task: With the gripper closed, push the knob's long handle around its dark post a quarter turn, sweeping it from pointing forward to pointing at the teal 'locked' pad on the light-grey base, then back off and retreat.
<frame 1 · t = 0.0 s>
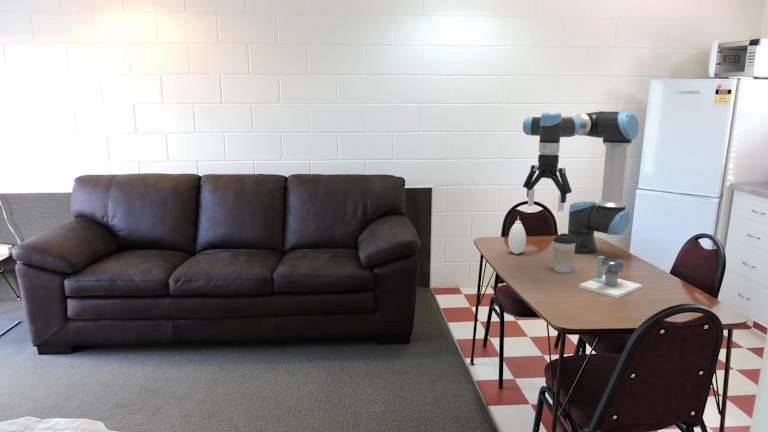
hand: (545, 208, 206), 28 cm above the table, fingers open, 13 cm apart
knob: (610, 265, 197), point 9 cm above the table, hinge at 0.0°
coffee cup: (562, 270, 220), on the table
lock base: (610, 287, 199), on the table
sauce bottle: (516, 253, 245), on the table
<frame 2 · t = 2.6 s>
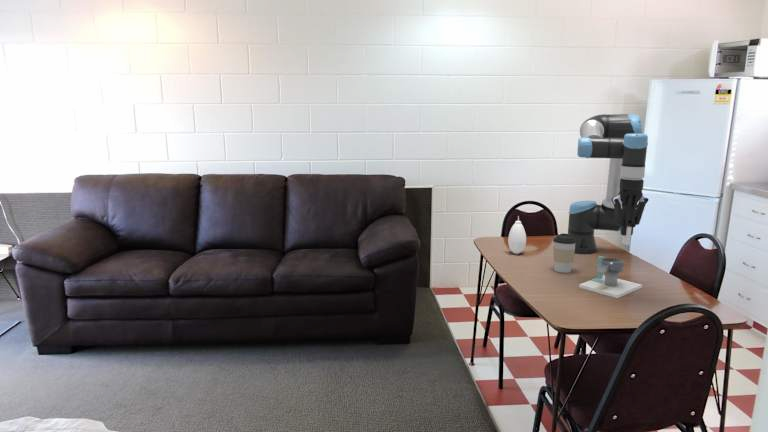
hand: (625, 244, 189), 19 cm above the table, fingers closed
nothing on the table moved.
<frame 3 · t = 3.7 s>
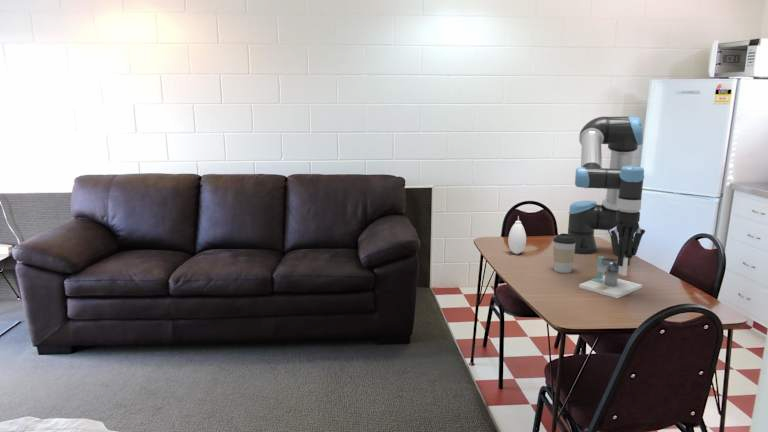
hand: (622, 274, 191), 7 cm above the table, fingers closed
nothing on the table moved.
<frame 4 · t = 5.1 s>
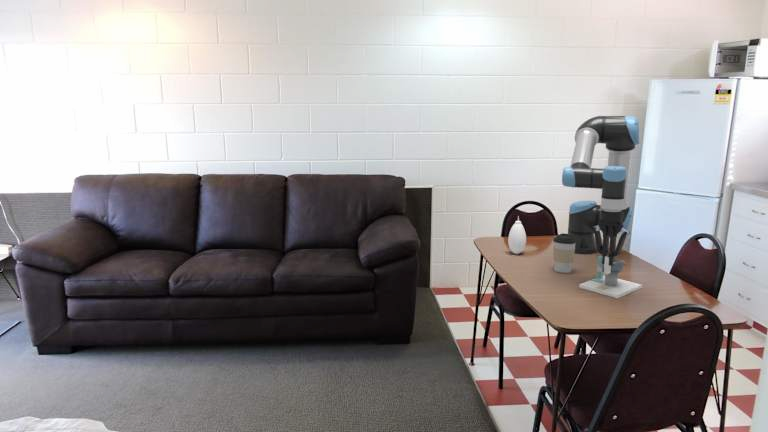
hand: (607, 273, 193), 7 cm above the table, fingers closed
knob: (610, 265, 197), point 9 cm above the table, hinge at 2.0°, touching gripper
everything else where it was.
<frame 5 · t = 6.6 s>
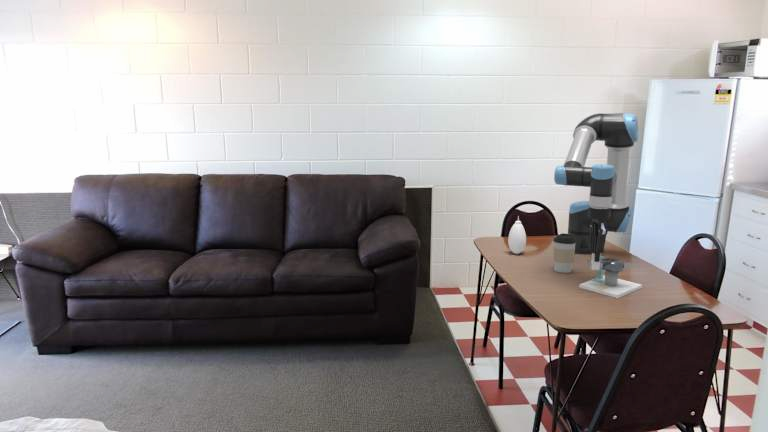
hand: (595, 269, 197), 7 cm above the table, fingers closed
knob: (609, 265, 198), point 9 cm above the table, hinge at 48.7°, touching gripper
everything else where it was.
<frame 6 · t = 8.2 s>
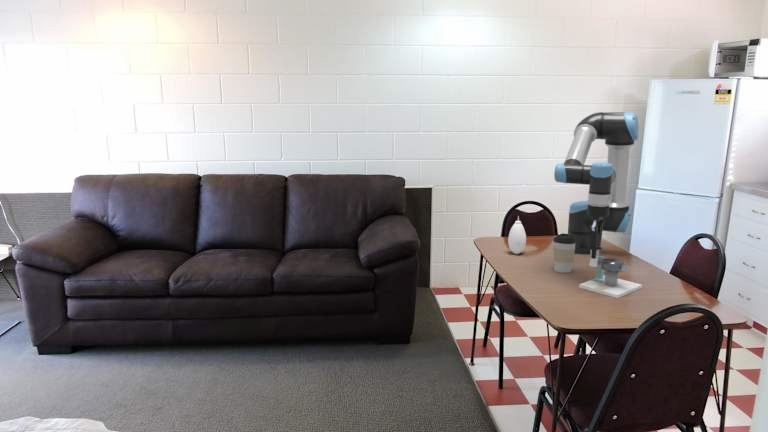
hand: (593, 266, 200), 8 cm above the table, fingers closed
knob: (609, 264, 198), point 9 cm above the table, hinge at 86.6°
everything else where it was.
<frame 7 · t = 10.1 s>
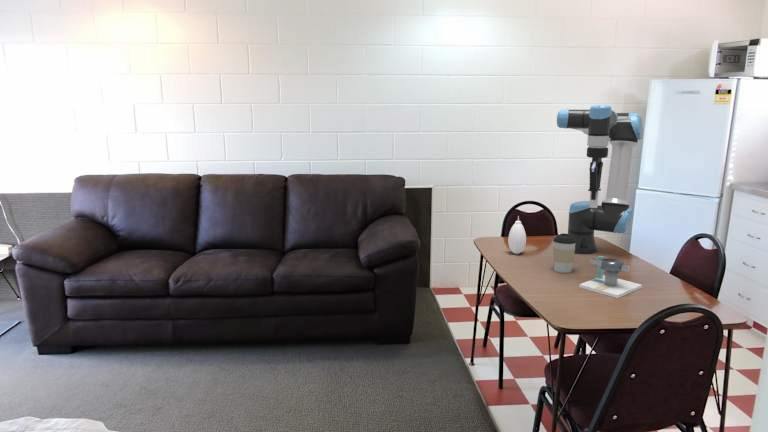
hand: (593, 207, 206), 28 cm above the table, fingers closed
nothing on the table moved.
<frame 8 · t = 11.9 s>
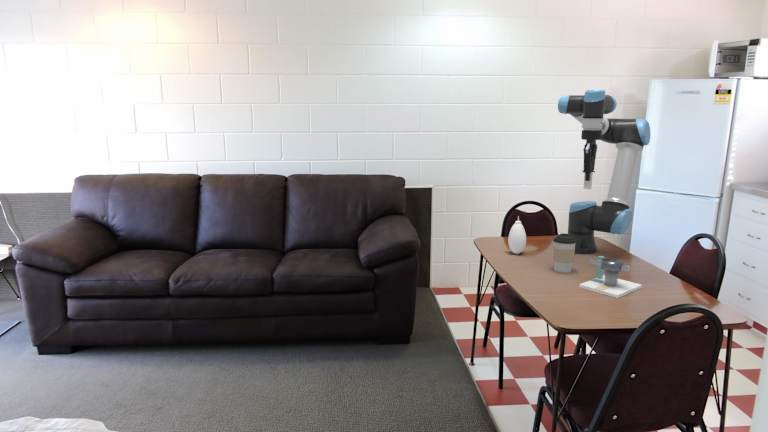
hand: (587, 188, 214), 34 cm above the table, fingers closed
nothing on the table moved.
at the end: knob at +87° (first picture: +0°); the gripper is holding nothing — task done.
